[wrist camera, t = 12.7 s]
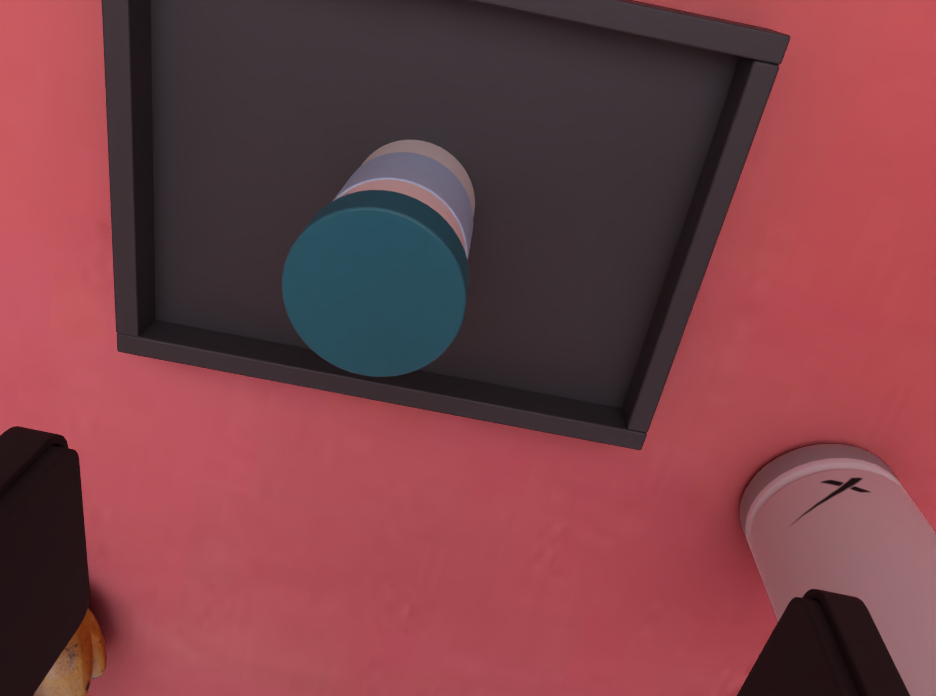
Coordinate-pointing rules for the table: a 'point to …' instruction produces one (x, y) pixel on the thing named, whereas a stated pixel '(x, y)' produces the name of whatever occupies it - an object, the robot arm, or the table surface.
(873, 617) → the travel mug
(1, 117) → the table surface
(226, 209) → the desk tray
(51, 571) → the robot arm
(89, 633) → the decorative figurine
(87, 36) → the table surface
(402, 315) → the pill bottle
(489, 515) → the table surface
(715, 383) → the table surface
